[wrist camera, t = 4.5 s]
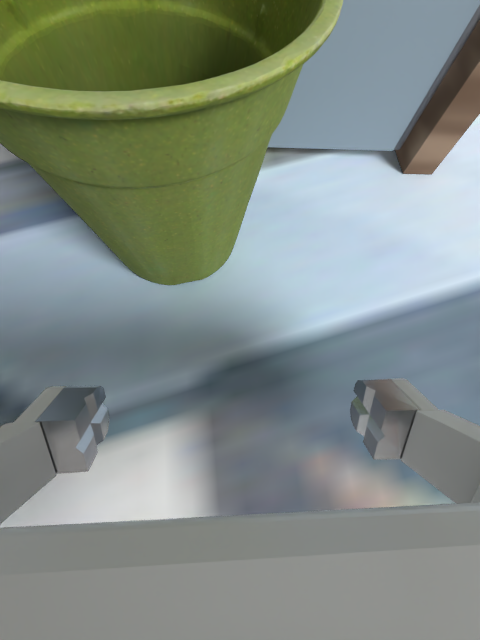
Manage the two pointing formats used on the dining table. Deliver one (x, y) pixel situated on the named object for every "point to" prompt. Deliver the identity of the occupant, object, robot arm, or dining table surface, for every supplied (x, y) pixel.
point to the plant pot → (154, 114)
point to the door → (375, 74)
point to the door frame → (445, 113)
